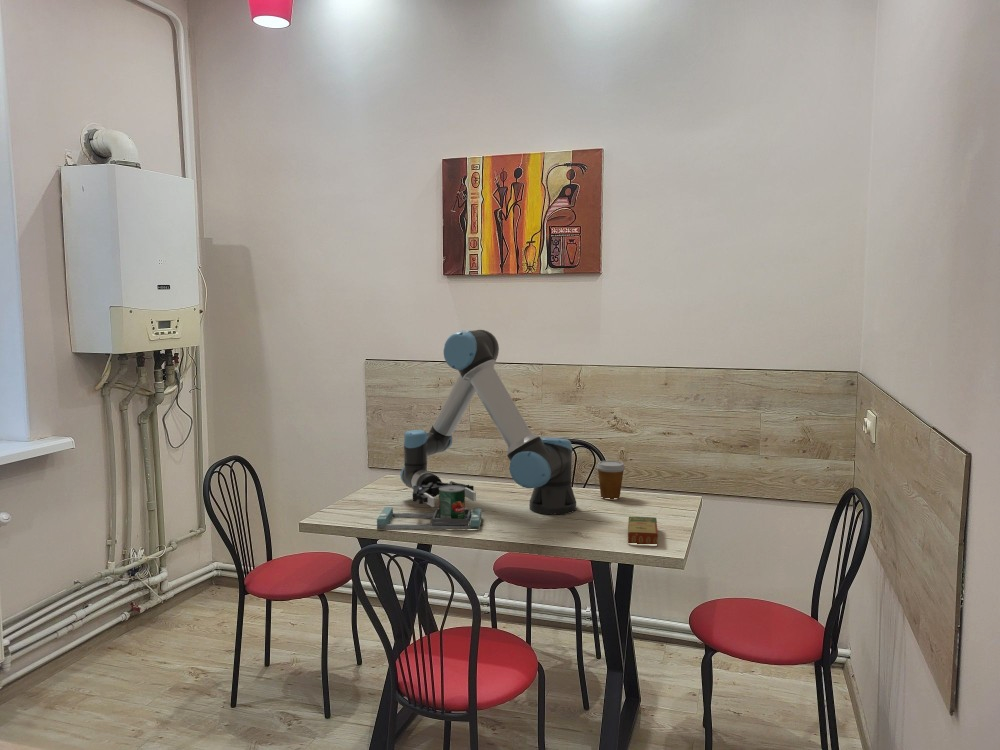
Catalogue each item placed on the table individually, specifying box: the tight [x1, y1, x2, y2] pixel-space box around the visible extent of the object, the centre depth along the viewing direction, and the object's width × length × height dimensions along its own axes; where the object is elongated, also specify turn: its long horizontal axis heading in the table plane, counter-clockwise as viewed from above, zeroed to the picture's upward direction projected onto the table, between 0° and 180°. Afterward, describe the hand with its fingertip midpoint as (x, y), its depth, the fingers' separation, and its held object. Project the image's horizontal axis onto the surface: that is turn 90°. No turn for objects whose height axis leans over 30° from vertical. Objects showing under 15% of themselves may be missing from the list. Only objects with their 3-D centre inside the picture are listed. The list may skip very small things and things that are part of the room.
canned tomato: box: [438, 485, 466, 519], centre depth 230 cm, size 8×8×11 cm
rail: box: [376, 512, 480, 530], centre depth 231 cm, size 30×13×1 cm, turn 88°
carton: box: [627, 516, 659, 545], centre depth 219 cm, size 8×16×4 cm, turn 170°
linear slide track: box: [376, 506, 482, 529], centre depth 231 cm, size 30×13×3 cm, turn 88°
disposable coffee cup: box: [596, 460, 626, 499], centre depth 260 cm, size 10×10×12 cm
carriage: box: [430, 508, 472, 525], centre depth 231 cm, size 11×13×2 cm
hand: (454, 499), depth 228 cm, fingers open, 13 cm apart
